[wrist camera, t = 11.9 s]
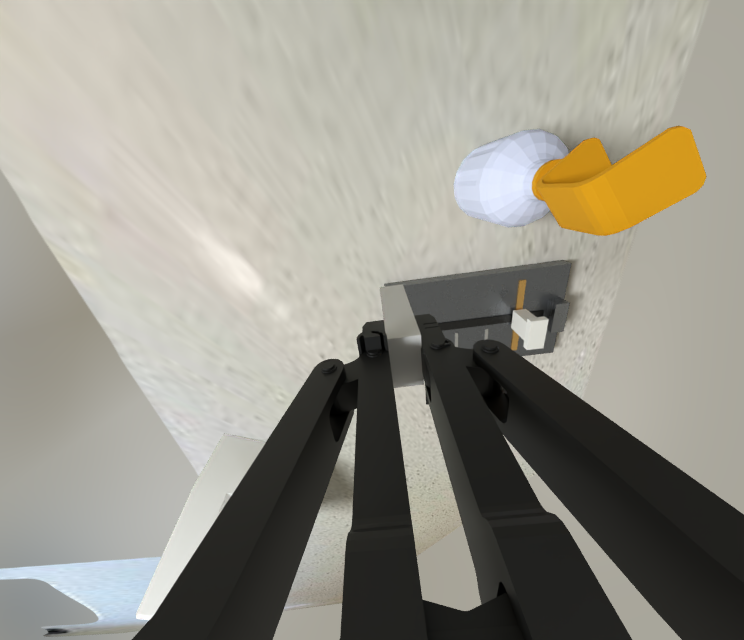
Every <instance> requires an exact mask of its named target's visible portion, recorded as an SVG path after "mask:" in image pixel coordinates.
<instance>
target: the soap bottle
mask: <svg viewBox="0 0 744 640" xmlns="http://www.w3.org/2000/svg"><path fill="white" fill-rule="evenodd" d="M705 179H706V173H705V170H704V167H703V164H702V161H701V158H700V155H699V152H698V150H697V147H696V144H695V141H694V138H693V135H692V132H691V130H690V129H688V128H685V127H682V126H676V127H671V128H668V129H667V130H665V131H664V132H662V133H661V134H659V135H657V136H656V137H654V138H653V139H651V140H650V141H648V142H647V143H645V144H644V145H642V146H641V147H639V148H638V149H636V150H635V151H633V152H632V153H630V154H629V155H627V156H625V157H624V158H622V159H621V160H619V161H618V162H616V163H615V164H613V165H611V162H610V160H609V158H608V156H607V154H606V152H605V150H604V148H603V146H602V144H601V141H600V139H597V138H590V139H587V140H584V141H583V142H581V143H580V144H579V145H578V146H577V147H576V148H575V149H573V150H572V151H571V152H570V153H569V152H568V149H567V147H566V146H565V144H564V143H563V142H562V141H561V140H560V139H559V138H558V137H557V136H556V135H554V134H552V133H549V132H547V131H544V130H541V129H533V130H523V131H520V132H517V133H515V134H512V135H509V136H506V137H504V138H501V139H498V140H495V141H492V142H490V143H487V144H485V145H483V146H480V147H478V148H476V149H474V150H473V151H472V152H471V153H470V154H469V155H468V156H467V157H466V158H465V159H464V160H463V162H462V163H461V165H460V167H459V169H458V171H457V173H456V177H455V182H454V193H455V199H456V201H457V203H458V205H459V207H460V209H461V210H462V211H464V212H465V213H466V214H467V215H468V216H471V217H475V218H478V219H481V220H485V221H488V222H492V223H495V224H499V225H502V226H506V227H520V226H525V225H527V224H529V223H532V222H534V221H536V220H538V219H541V218H542V217H543V216H545V215H546V214H547V213H548V212H549V211H551V212H552V214H553V216H554V217H555V219H556V221H557V222H558V224H559V225H560V226H561V227H562V228H565V229H570V230H575V231H579V232H584V233H589V234H594V235H604V236H606V235H610V234H615V233H618V232H620V231H623V230H625V229H628V228H630V227H632V226H634V225H636V224H638V223H640V222H641V221H643V220H645V219H647V218H649V217H651V216H653V215H654V214H656V213H658V212H660V211H662V210H664V209H666V208H668V207H669V206H671V205H673V204H675V203H677V202H679V201H681V200H682V199H684V198H686V197H688V196H690V195H692V194H694V193H695V192H697V191H698V190H699V189H700V188H701V187H702V186H703V184H704V182H705Z"/></svg>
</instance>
